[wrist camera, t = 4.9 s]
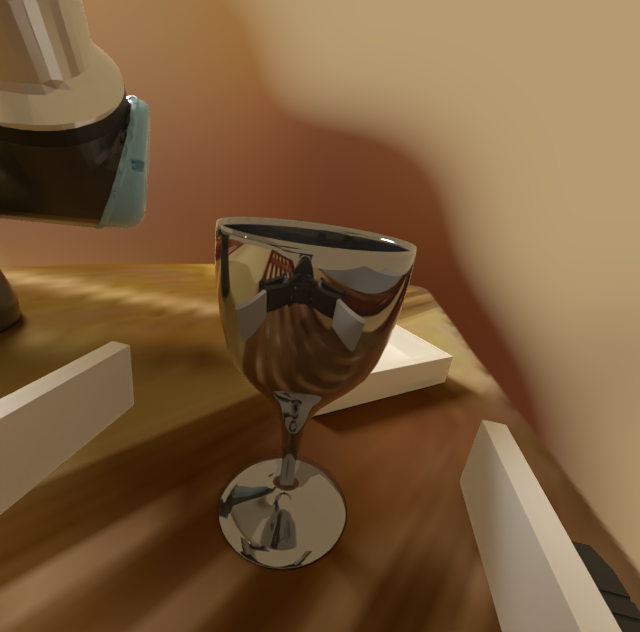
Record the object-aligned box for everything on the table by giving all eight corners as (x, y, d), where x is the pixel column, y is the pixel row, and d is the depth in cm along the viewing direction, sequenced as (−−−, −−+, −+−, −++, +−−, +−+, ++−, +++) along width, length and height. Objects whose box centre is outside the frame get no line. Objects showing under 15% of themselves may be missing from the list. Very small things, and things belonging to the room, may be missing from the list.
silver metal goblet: (206, 597, 14) (212, 237, 9) (211, 456, 21) (217, 211, 16) (377, 560, 16) (462, 260, 11) (330, 444, 23) (368, 228, 18)
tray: (245, 334, 38) (246, 310, 37) (355, 323, 47) (358, 303, 46) (310, 417, 26) (315, 384, 25) (445, 382, 34) (452, 356, 33)
